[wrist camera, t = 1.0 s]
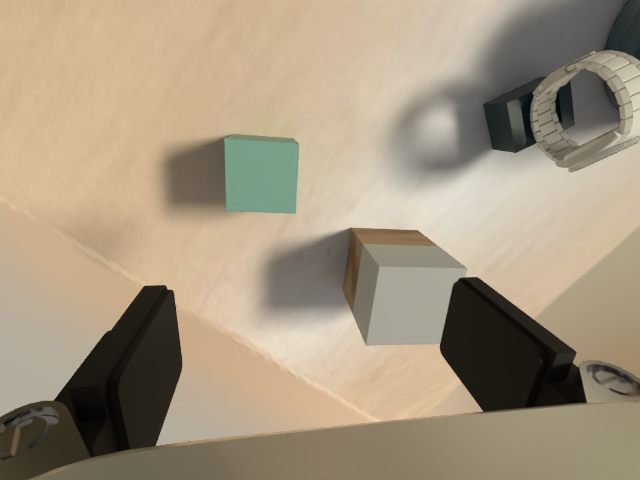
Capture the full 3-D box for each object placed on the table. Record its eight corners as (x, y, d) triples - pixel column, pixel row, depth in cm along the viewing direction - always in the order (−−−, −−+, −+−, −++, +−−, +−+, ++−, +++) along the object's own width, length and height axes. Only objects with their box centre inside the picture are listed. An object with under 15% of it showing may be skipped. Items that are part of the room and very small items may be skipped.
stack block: (233, 134, 27) (224, 138, 21) (293, 138, 28) (299, 143, 22) (234, 192, 29) (226, 211, 23) (290, 195, 29) (295, 213, 24)
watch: (496, 168, 31) (605, 192, 21) (479, 84, 28) (596, 66, 18) (549, 143, 31) (684, 156, 21) (537, 56, 28) (689, 22, 18)
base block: (350, 227, 32) (362, 244, 27) (417, 229, 33) (438, 246, 29) (342, 289, 34) (352, 313, 30) (404, 290, 35) (422, 313, 31)
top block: (362, 243, 27) (379, 266, 23) (438, 246, 29) (467, 268, 24) (352, 313, 30) (366, 345, 26) (422, 313, 31) (446, 343, 27)
